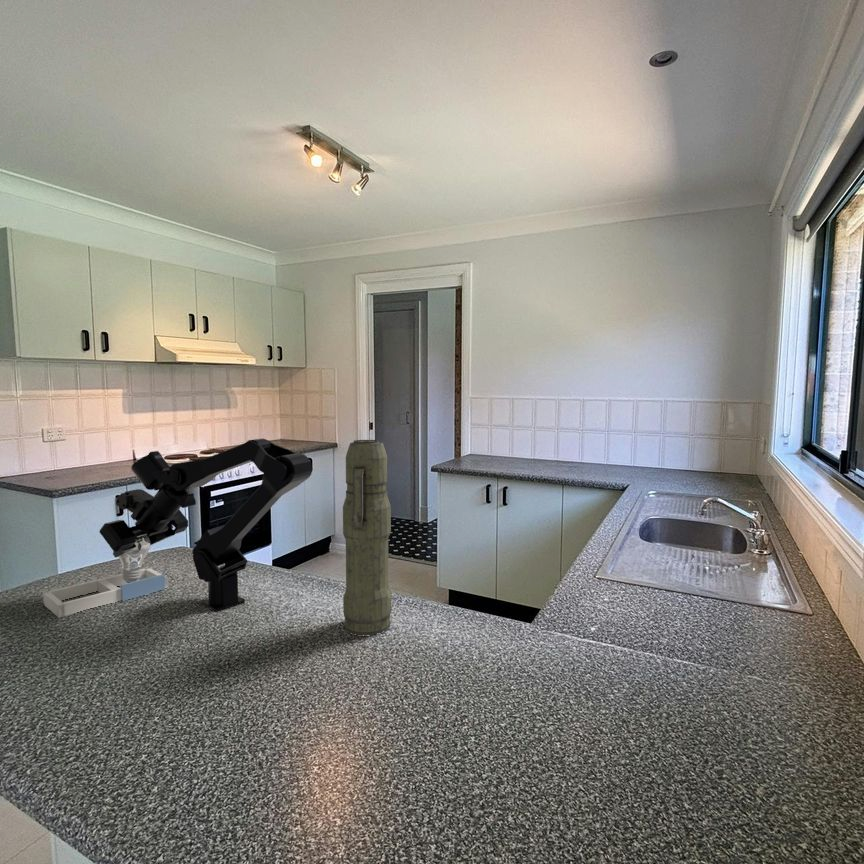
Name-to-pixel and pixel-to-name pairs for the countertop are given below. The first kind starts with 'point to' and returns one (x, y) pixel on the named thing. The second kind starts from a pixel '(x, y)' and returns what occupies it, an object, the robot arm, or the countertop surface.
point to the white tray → (103, 592)
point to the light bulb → (135, 559)
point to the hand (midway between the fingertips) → (128, 551)
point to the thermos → (366, 539)
